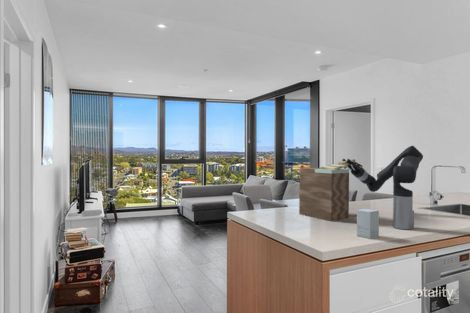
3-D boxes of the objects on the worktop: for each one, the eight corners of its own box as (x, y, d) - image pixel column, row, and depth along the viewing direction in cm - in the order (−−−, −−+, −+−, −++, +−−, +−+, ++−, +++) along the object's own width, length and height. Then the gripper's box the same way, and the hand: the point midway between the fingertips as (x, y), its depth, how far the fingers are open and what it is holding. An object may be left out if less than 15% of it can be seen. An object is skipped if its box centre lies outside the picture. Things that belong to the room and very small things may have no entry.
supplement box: (379, 237, 154) (379, 210, 153) (370, 239, 149) (370, 211, 149) (365, 233, 160) (365, 208, 160) (356, 235, 155) (356, 209, 155)
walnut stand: (316, 211, 219) (316, 167, 219) (348, 218, 198) (349, 169, 197) (299, 214, 210) (299, 168, 210) (331, 221, 189) (331, 170, 189)
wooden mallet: (346, 163, 215) (346, 159, 214) (360, 163, 205) (360, 159, 205) (320, 169, 201) (320, 165, 201) (335, 169, 192) (334, 165, 192)
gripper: (352, 167, 220) (338, 154, 212) (370, 168, 209) (356, 154, 200) (348, 177, 218) (334, 164, 210) (367, 178, 207) (352, 165, 198)
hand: (345, 159), depth 205 cm, fingers closed on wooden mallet, 3 cm apart
